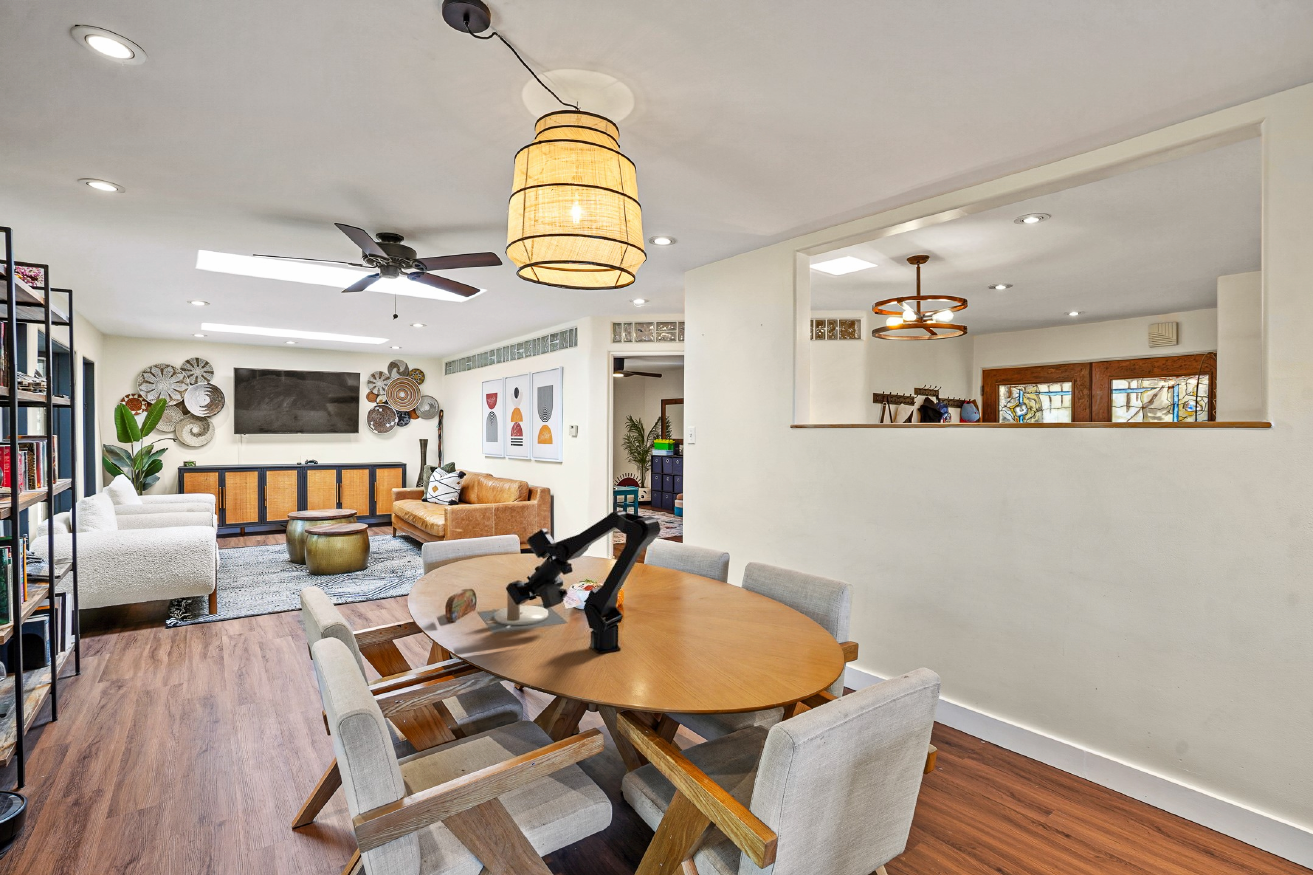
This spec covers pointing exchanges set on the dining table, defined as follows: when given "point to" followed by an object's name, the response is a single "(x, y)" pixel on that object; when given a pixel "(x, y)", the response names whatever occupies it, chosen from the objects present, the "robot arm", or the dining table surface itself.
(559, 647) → the dining table surface
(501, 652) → the dining table surface
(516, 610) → the dial
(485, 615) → the dial plate
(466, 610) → the tin
